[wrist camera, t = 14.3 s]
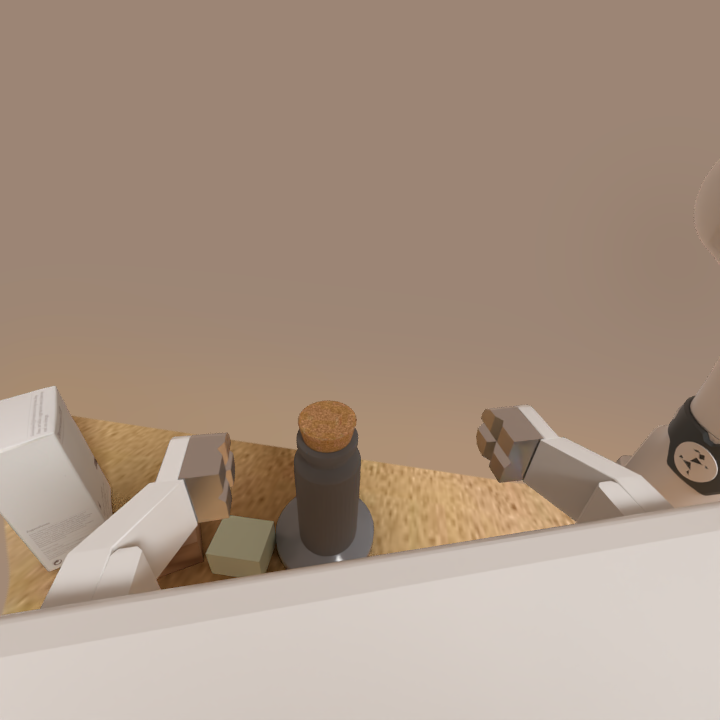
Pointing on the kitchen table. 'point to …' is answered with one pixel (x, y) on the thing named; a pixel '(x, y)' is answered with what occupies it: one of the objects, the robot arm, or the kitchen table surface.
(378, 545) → the kitchen table surface
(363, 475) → the kitchen table surface
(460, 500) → the kitchen table surface
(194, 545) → the walnut block
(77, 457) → the skincare box
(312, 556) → the grey dome disc
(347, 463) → the bottle
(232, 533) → the sage block
